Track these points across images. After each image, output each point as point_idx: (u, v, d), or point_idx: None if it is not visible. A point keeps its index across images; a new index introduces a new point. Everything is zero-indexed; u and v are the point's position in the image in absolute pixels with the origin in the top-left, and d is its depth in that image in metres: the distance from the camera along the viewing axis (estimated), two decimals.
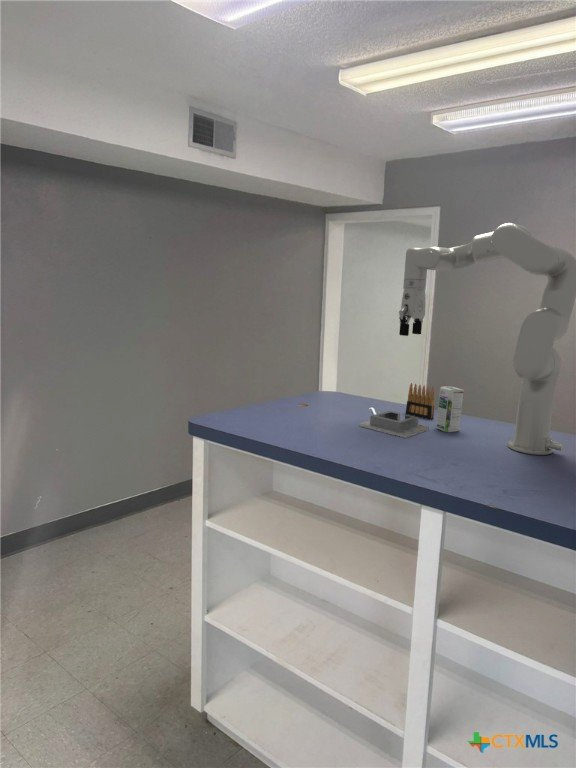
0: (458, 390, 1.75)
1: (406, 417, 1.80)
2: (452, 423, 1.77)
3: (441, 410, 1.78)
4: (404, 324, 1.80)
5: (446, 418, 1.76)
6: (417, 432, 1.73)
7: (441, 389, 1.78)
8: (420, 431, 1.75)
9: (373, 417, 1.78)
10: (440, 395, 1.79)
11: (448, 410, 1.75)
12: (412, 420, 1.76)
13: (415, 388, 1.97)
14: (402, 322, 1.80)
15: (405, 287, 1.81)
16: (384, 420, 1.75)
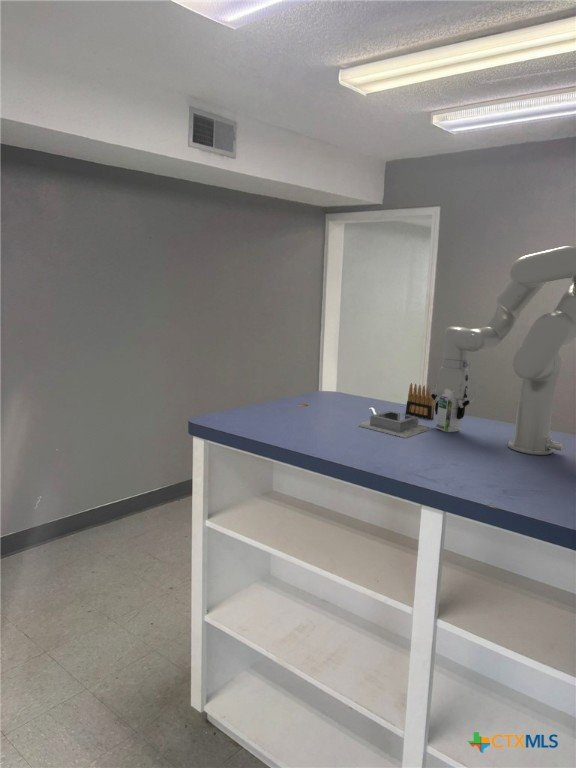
0: None
1: (406, 417, 1.80)
2: (452, 423, 1.77)
3: (441, 410, 1.78)
4: (464, 407, 1.76)
5: (446, 418, 1.76)
6: (417, 432, 1.73)
7: None
8: (420, 431, 1.75)
9: (373, 417, 1.78)
10: None
11: (448, 410, 1.75)
12: (412, 420, 1.76)
13: (415, 388, 1.97)
14: (465, 406, 1.75)
15: (461, 368, 1.73)
16: (384, 420, 1.75)
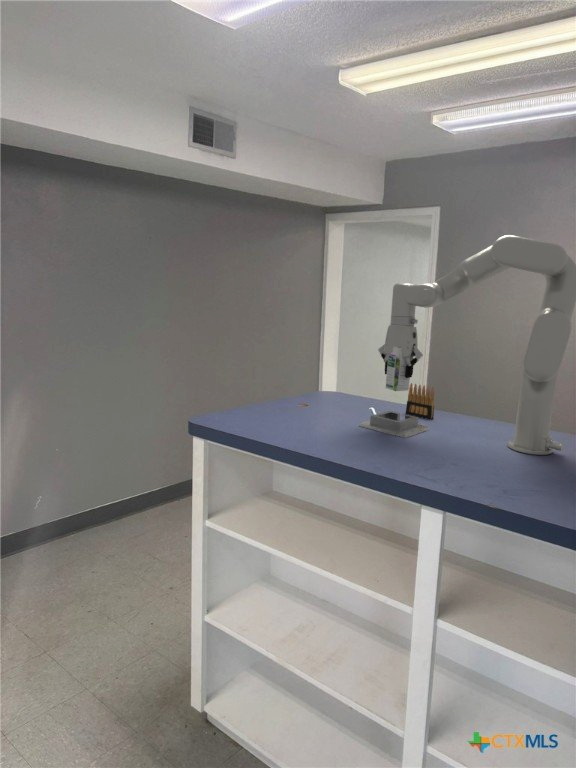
0: None
1: (406, 417, 1.80)
2: (401, 382, 1.74)
3: (389, 369, 1.75)
4: (412, 366, 1.72)
5: (395, 377, 1.73)
6: (417, 432, 1.73)
7: None
8: (420, 431, 1.75)
9: (373, 417, 1.78)
10: None
11: (396, 368, 1.72)
12: (412, 420, 1.76)
13: (415, 388, 1.97)
14: (413, 364, 1.72)
15: (408, 325, 1.69)
16: (384, 420, 1.75)
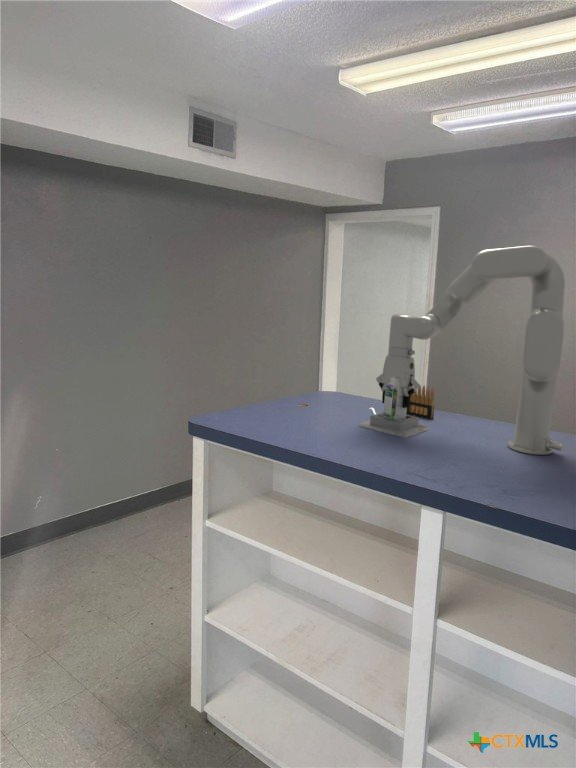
0: None
1: (406, 417, 1.80)
2: (398, 412, 1.75)
3: (387, 398, 1.77)
4: (409, 396, 1.74)
5: (392, 406, 1.75)
6: (417, 432, 1.73)
7: None
8: (420, 431, 1.75)
9: (373, 417, 1.78)
10: None
11: (393, 398, 1.74)
12: (412, 420, 1.76)
13: None
14: (410, 394, 1.73)
15: (405, 356, 1.71)
16: (384, 420, 1.75)
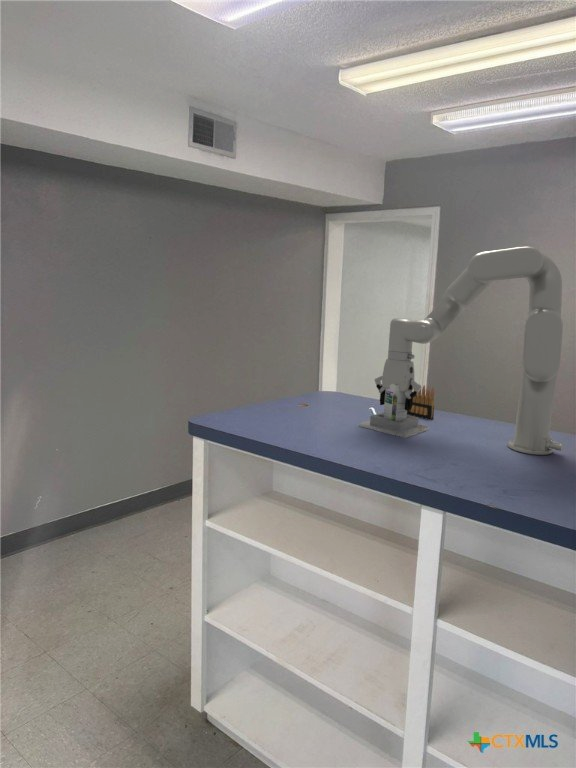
0: None
1: (406, 417, 1.80)
2: (398, 418, 1.76)
3: (387, 405, 1.77)
4: (412, 398, 1.74)
5: (392, 413, 1.75)
6: (417, 432, 1.73)
7: None
8: (420, 431, 1.75)
9: (373, 417, 1.78)
10: (386, 390, 1.78)
11: (393, 405, 1.74)
12: (412, 420, 1.76)
13: None
14: (412, 397, 1.73)
15: (405, 360, 1.72)
16: (384, 420, 1.75)
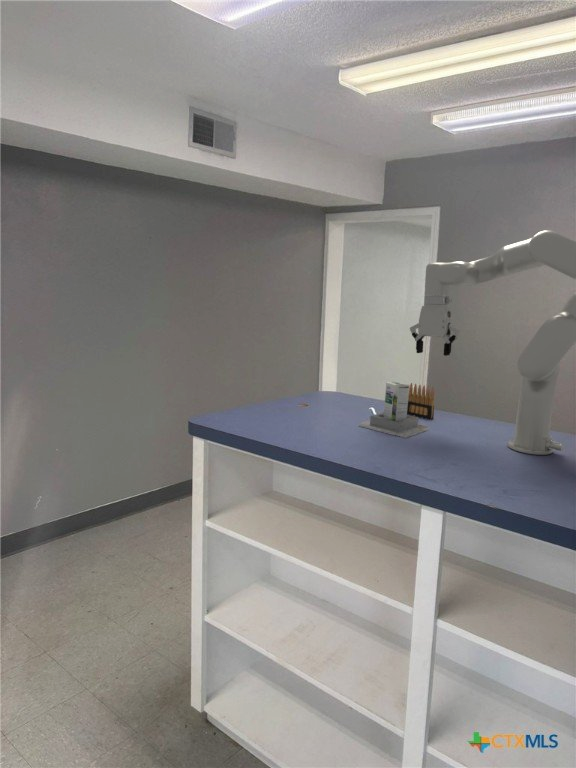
0: (403, 385, 1.74)
1: (406, 417, 1.80)
2: (398, 418, 1.76)
3: (387, 405, 1.77)
4: (451, 343, 1.72)
5: (392, 413, 1.75)
6: (417, 432, 1.73)
7: (387, 384, 1.77)
8: (420, 431, 1.75)
9: (373, 417, 1.78)
10: (386, 390, 1.78)
11: (393, 405, 1.74)
12: (412, 420, 1.76)
13: (415, 388, 1.97)
14: (451, 341, 1.71)
15: (443, 304, 1.70)
16: (384, 420, 1.75)
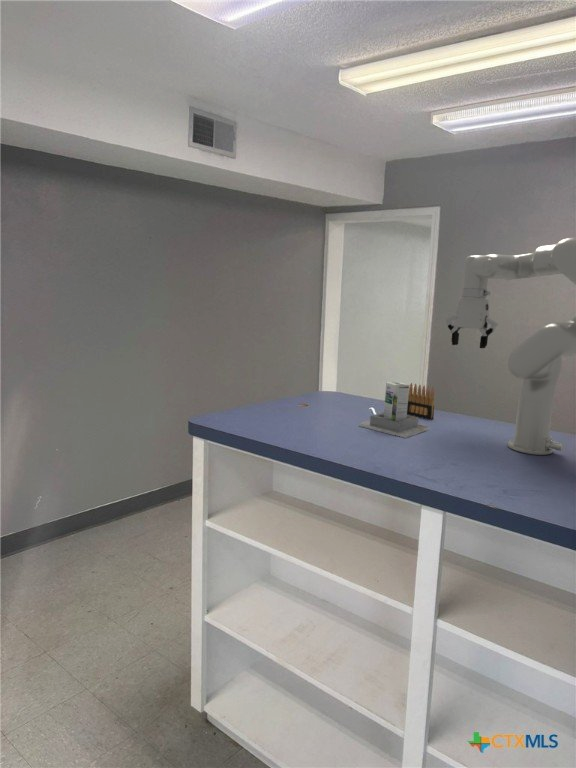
0: (403, 385, 1.74)
1: (406, 417, 1.80)
2: (398, 418, 1.76)
3: (387, 405, 1.77)
4: (487, 336, 1.73)
5: (392, 413, 1.75)
6: (417, 432, 1.73)
7: (387, 384, 1.77)
8: (420, 431, 1.75)
9: (373, 417, 1.78)
10: (386, 390, 1.78)
11: (393, 405, 1.74)
12: (412, 420, 1.76)
13: (415, 388, 1.97)
14: (488, 334, 1.72)
15: (481, 297, 1.71)
16: (384, 420, 1.75)
